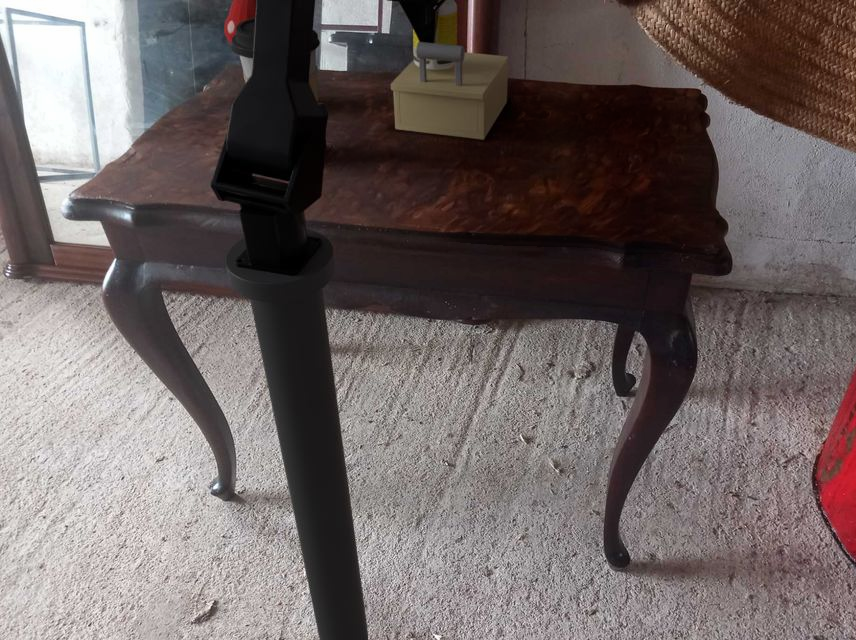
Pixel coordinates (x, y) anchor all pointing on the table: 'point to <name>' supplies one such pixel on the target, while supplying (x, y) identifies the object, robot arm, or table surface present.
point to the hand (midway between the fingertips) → (435, 44)
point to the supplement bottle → (441, 35)
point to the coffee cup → (245, 44)
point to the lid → (451, 72)
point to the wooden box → (451, 111)
